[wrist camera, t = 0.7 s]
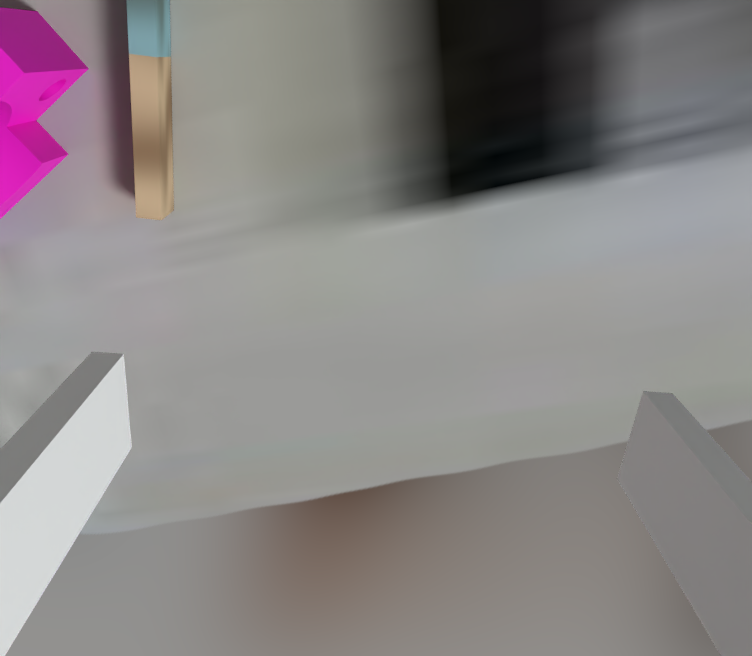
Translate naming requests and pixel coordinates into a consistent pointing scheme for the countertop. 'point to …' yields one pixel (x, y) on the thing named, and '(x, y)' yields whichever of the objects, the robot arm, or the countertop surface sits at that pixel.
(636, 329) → the countertop surface
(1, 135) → the toy block
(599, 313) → the countertop surface
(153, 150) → the rack bay
